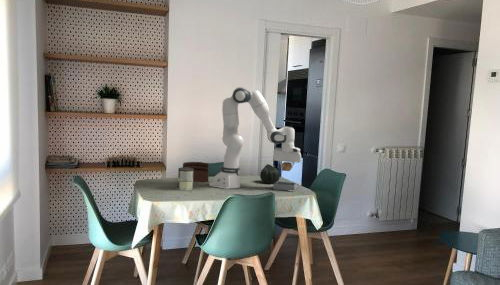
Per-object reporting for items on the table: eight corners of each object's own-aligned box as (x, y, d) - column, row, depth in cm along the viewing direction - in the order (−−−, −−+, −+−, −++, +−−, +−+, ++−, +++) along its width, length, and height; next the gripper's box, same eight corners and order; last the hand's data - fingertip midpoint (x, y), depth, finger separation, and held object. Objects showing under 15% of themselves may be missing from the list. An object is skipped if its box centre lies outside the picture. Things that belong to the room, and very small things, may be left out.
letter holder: (182, 179, 313) (183, 161, 311) (208, 180, 315) (209, 162, 313) (181, 182, 303) (182, 163, 301) (208, 182, 305) (209, 164, 304)
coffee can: (174, 188, 280) (175, 167, 279) (187, 186, 287) (187, 166, 286) (183, 191, 273) (184, 170, 271) (195, 189, 280) (196, 169, 279)
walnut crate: (281, 170, 292) (281, 163, 291) (284, 168, 301) (284, 161, 300) (289, 171, 291) (289, 164, 290) (291, 169, 299) (291, 162, 299)
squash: (281, 178, 308) (279, 161, 317) (262, 178, 306) (260, 161, 315) (278, 187, 320) (276, 171, 329) (259, 188, 318) (257, 171, 326)
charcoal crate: (273, 189, 293) (273, 184, 292) (277, 186, 305) (277, 181, 305) (293, 191, 289) (294, 186, 288) (296, 188, 301) (297, 183, 301)
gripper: (272, 148, 294) (271, 167, 295) (301, 150, 288) (299, 169, 290) (274, 147, 300) (273, 165, 301) (302, 149, 294) (301, 168, 296)
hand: (286, 167), depth 295 cm, fingers closed on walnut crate, 5 cm apart
